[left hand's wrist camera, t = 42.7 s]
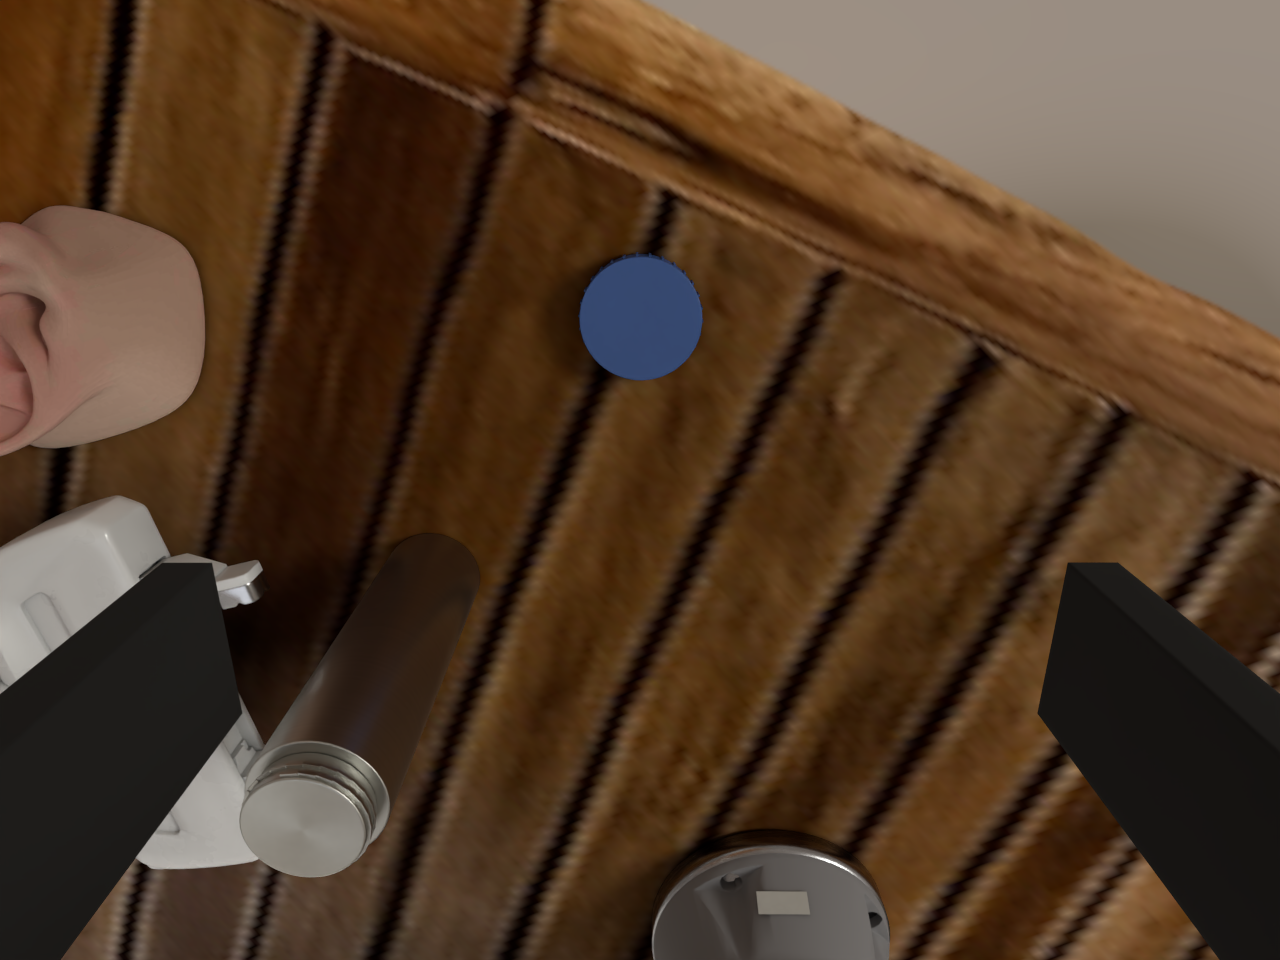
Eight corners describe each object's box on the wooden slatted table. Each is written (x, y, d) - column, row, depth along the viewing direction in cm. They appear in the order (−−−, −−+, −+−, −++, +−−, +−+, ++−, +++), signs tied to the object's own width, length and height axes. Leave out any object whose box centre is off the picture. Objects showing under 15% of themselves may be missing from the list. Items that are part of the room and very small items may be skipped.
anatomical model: (123, 190, 35) (208, 446, 39) (173, 188, 38) (246, 422, 42) (-173, 233, 35) (-59, 481, 39) (-96, 228, 39) (2, 454, 43)
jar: (486, 612, 46) (391, 882, 29) (396, 619, 47) (247, 892, 29) (472, 529, 45) (361, 762, 27) (378, 536, 45) (207, 773, 27)
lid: (648, 225, 39) (649, 227, 38) (725, 323, 41) (729, 329, 39) (555, 306, 40) (551, 311, 39) (632, 397, 42) (632, 406, 41)
